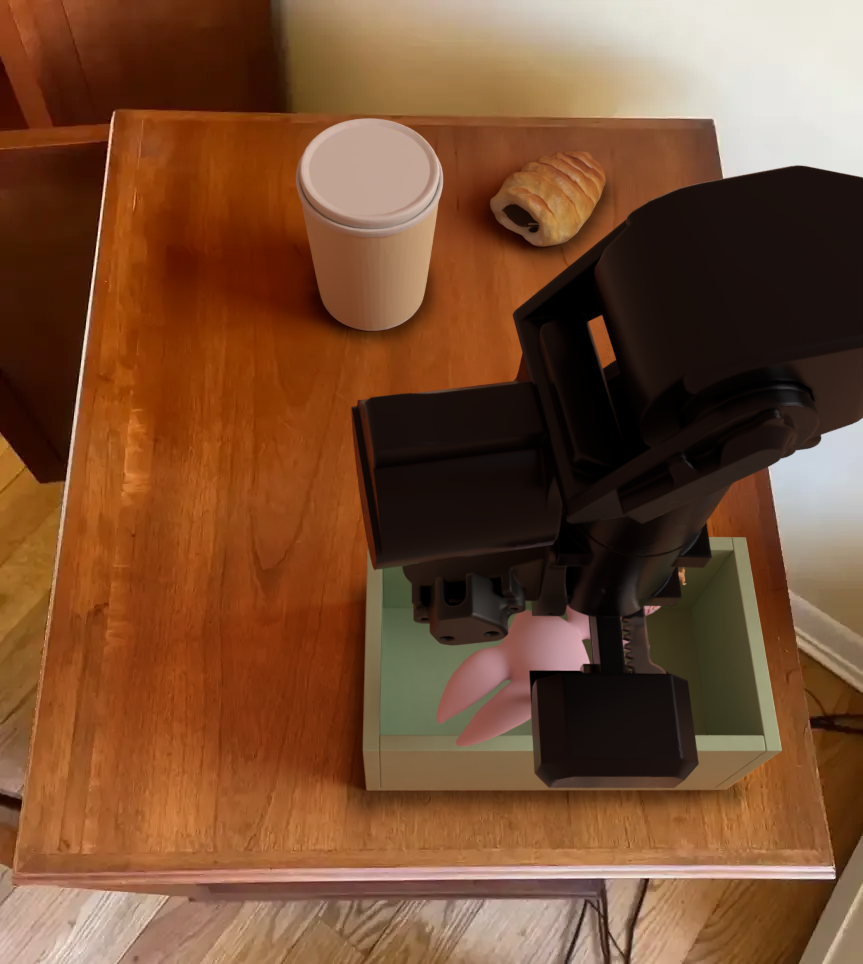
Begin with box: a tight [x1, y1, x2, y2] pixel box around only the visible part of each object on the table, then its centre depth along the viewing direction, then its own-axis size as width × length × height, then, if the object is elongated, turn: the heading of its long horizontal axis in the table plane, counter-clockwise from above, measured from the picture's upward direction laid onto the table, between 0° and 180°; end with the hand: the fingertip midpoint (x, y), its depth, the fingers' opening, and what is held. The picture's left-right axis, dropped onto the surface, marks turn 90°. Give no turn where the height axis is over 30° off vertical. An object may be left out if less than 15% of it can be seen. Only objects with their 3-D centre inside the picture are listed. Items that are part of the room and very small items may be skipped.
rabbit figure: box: [436, 567, 686, 746], centre depth 50 cm, size 6×6×15 cm
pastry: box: [489, 150, 607, 247], centre depth 77 cm, size 9×7×4 cm
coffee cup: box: [295, 117, 444, 332], centre depth 69 cm, size 9×9×12 cm
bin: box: [362, 536, 783, 791], centre depth 56 cm, size 21×12×10 cm, turn 90°
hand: (564, 627), depth 51 cm, fingers closed on rabbit figure, 7 cm apart
